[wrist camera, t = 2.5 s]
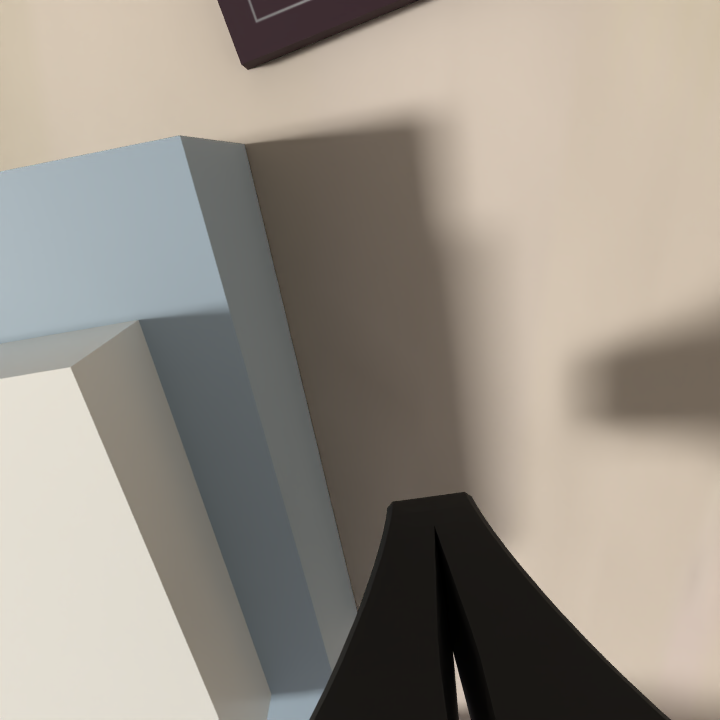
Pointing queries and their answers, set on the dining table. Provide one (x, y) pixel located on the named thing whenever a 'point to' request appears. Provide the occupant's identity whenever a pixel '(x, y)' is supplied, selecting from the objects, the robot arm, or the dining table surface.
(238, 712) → the tile
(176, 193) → the plate
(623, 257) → the dining table surface
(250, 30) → the chocolate bar
